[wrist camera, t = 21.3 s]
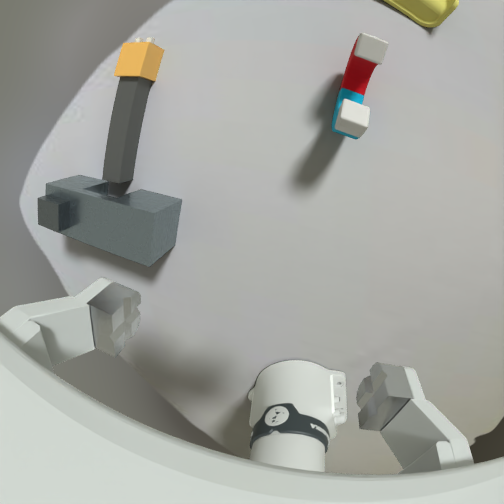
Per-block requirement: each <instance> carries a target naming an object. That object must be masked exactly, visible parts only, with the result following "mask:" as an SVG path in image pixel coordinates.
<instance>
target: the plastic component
mask: <svg viewBox="0 0 504 504" xmlns="http://www.w3.org/2000/svg"><path fill="white" fill-rule="evenodd" d="M384 1H385V2H387V3H388V4H390V5H392V6H393V7H395V8H396V9H398V10H399V11H401V12H402V13H404V14H405V15H407V16H408V17H410V18H411V19H412V20H414V21H415V22H417V23H418V24H420V25H422V26H425V27H437V26H439V25H440V24H441V23H442V22H443V21H444V20H445V19H446V18H447V17H448V16H449V15H450V14H451V13H452V12H453V11H454V10H455V9H456V8H457V6H458V4H459V1H458V0H384Z"/></svg>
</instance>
